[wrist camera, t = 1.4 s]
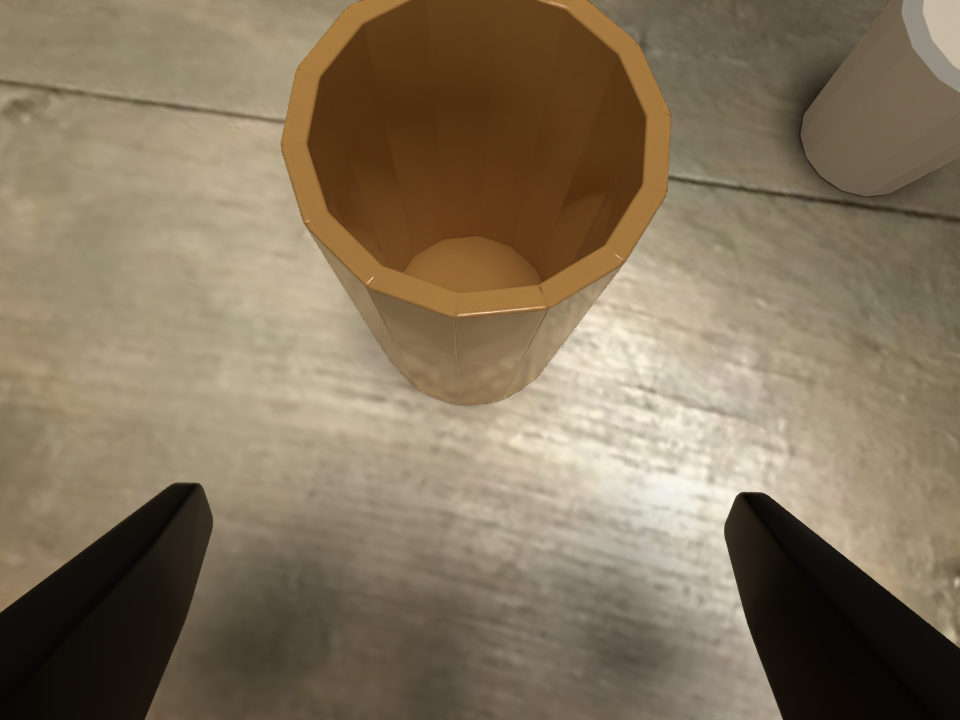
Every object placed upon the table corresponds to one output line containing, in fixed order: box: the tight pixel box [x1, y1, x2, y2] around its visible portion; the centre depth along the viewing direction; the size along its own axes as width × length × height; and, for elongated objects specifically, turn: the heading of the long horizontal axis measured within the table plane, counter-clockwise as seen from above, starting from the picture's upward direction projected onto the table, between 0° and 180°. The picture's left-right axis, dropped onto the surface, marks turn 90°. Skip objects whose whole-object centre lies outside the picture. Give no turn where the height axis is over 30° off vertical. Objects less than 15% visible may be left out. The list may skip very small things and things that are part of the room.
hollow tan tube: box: [281, 0, 671, 405], centre depth 17 cm, size 7×8×13 cm
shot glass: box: [800, 0, 960, 197], centre depth 22 cm, size 7×7×7 cm
